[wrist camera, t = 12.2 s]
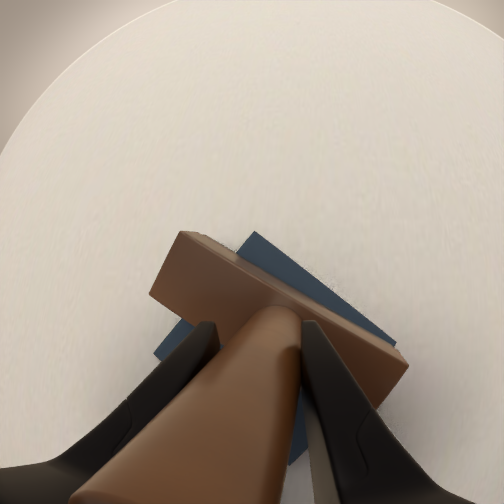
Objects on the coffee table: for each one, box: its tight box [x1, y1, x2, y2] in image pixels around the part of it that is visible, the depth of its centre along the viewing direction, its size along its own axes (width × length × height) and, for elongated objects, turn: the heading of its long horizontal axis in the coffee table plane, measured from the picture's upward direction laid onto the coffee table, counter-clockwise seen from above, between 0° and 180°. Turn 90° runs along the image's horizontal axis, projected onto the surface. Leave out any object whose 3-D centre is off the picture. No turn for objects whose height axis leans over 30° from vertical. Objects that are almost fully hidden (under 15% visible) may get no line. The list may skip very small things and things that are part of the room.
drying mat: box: [153, 231, 397, 466], centre depth 16 cm, size 10×9×1 cm
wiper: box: [68, 231, 409, 504], centre depth 9 cm, size 3×11×14 cm, turn 58°
